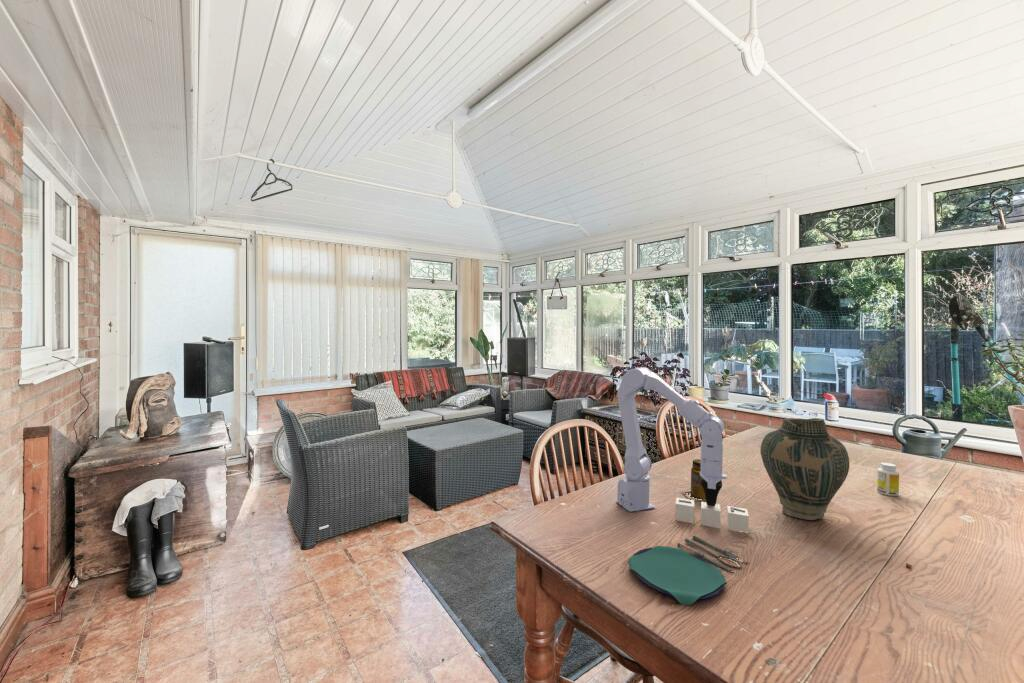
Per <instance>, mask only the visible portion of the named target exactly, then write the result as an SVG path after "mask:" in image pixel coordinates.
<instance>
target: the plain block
mask: <svg viewBox="0 0 1024 683" xmlns="http://www.w3.org/2000/svg"><path fill="white" fill-rule="evenodd" d="M700 508H701V509H700V526H704V525H705V527H710V526H711V527H710V528H715V527H717V528H716V529H721V518H722V517H721V512H722V511H721V504H719V503H718V504H717V503H716V505H715V507H714V506H708V505H707V503H706V501H700Z"/></svg>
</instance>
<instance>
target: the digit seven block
mask: <svg viewBox="0 0 1024 683" xmlns="http://www.w3.org/2000/svg"><path fill="white" fill-rule="evenodd" d="M726 506H727V510H726V511H727V512H726V523H727V524H726V525H728V526H727V530H728V529H730V530H729V531H731V530H736V531H743V532H748V533H749V529H750V528H749V527H750V526H749V525H750V523H749V522H750V520H749V519H750V515H749V511H748V508H742V507H736V506H730V505H726ZM736 531H735V532H736Z"/></svg>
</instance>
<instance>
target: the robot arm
mask: <svg viewBox="0 0 1024 683" xmlns="http://www.w3.org/2000/svg"><path fill="white" fill-rule="evenodd" d="M641 390H646V391H647V390H648V391H655V392H656V393H658V394H659V395H661V396H662V397H664V399H666V400H667V401H668V402H670V403H672V404H673V405H674V406H675V407H676V408H677V411H678V412H677V413H678V414H679V415H680V416H681V417H683V418H684V419H685V420H686V421H688V422H689V423H690V424H691V425H692V426H694V427H695V428H697V429H698V431H699V434H700V435H701V443H700V460H701V472H700V476H701V477H702V478H701V485H702V487H703V489H704V493H705V498H706V500H705V502H706V503H707V505H708V506H714V507H715V505H716V504H717V500H718V495H719V493H720V490H722V487H723V481H722V480H727V479H728V476H727V474H724V473H723V459H724V456H723V455H724V454H723V453H724V452H723V451H724V449H723V448H724V444H723V440H724V439H723V435H722V434H723V432H724V430H725V424H724V422H723V420H722V419H721V418H720V417H719V416H718V415H714V413H712V411H708V410H706V409H705V408H704V407H702V406H701V405H700V402H699V401H698V400H697V399H695V400H694V399H692V398H684V397H683V396H682V395H681V394H679V393H678V392H677V390H675V389H674V388H673V387H671V385H669V384H668V383H667V382H666V381H665V380H663V378H661V377H660V376H659V375H658V374H657V373H655V372H653V371H651V370H650V369H649V368H648V367H645V366H639V367H637V368H630V369H629V370H627V371H626V372H625V373H624V374H623V375H622V376H621V382H620V384H619V386H618V390H617V394H616V396H617V402H618V408H619V414H620V418H621V424H622V430H623V436H624V437H623V438H624V442H625V447H626V450H625V452H624V465H623V471H624V475H625V477H623V478H621V479H619V480H618V483H617V500H616V501H615V502H616V503H617V502H618V503H619V504H618V503H617V504H618V505H620V506H621V505H622V506H623V508H624V509H625V510H626V511H628V512H629V513H631V512H638V511H644V510H645V511H646V510H650V509H655V508H656V506H655V505H653V504H652V503H650V475H649V471H650V470H651V469H652V464H653V463H652V460H651V458H650V457H649V455H648V453H647V449H646V448H645V447H644V444H643V439H642V434H641V433H642V432H641V428H640V427H641V426H640V422H639V416H638V410H637V406H636V404H637V403H636V399H635V397H636V396H637V395H638V394H639V393H640V391H641ZM622 506H621V507H622Z"/></svg>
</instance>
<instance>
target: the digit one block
mask: <svg viewBox="0 0 1024 683" xmlns="http://www.w3.org/2000/svg"><path fill="white" fill-rule="evenodd" d="M674 510H675V514H674V516H675V518H674V519H675V521H678V520H679V521H678V522H685V523H690V524H694V523H695V501H694V500H690V499H689V498H683V497H676V499H675V509H674Z"/></svg>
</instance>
